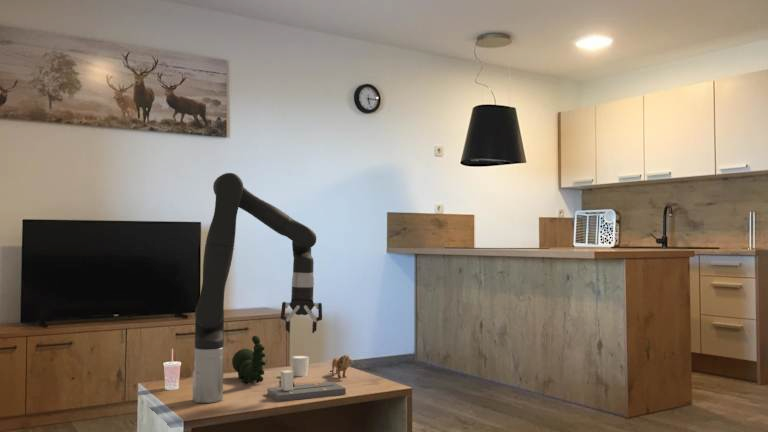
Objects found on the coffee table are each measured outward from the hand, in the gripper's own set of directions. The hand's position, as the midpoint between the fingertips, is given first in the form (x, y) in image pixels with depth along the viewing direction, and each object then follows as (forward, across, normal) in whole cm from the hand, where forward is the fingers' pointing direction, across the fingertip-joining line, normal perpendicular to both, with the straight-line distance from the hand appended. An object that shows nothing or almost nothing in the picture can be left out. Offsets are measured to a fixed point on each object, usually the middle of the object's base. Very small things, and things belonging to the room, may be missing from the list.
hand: (301, 332), depth 231 cm
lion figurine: (+20, +15, +27) cm, 37 cm away
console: (+21, +3, -2) cm, 21 cm away
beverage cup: (+22, -45, +10) cm, 51 cm away
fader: (+21, -4, -5) cm, 22 cm away
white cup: (+21, -1, +31) cm, 37 cm away
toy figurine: (+22, -20, +22) cm, 36 cm away
